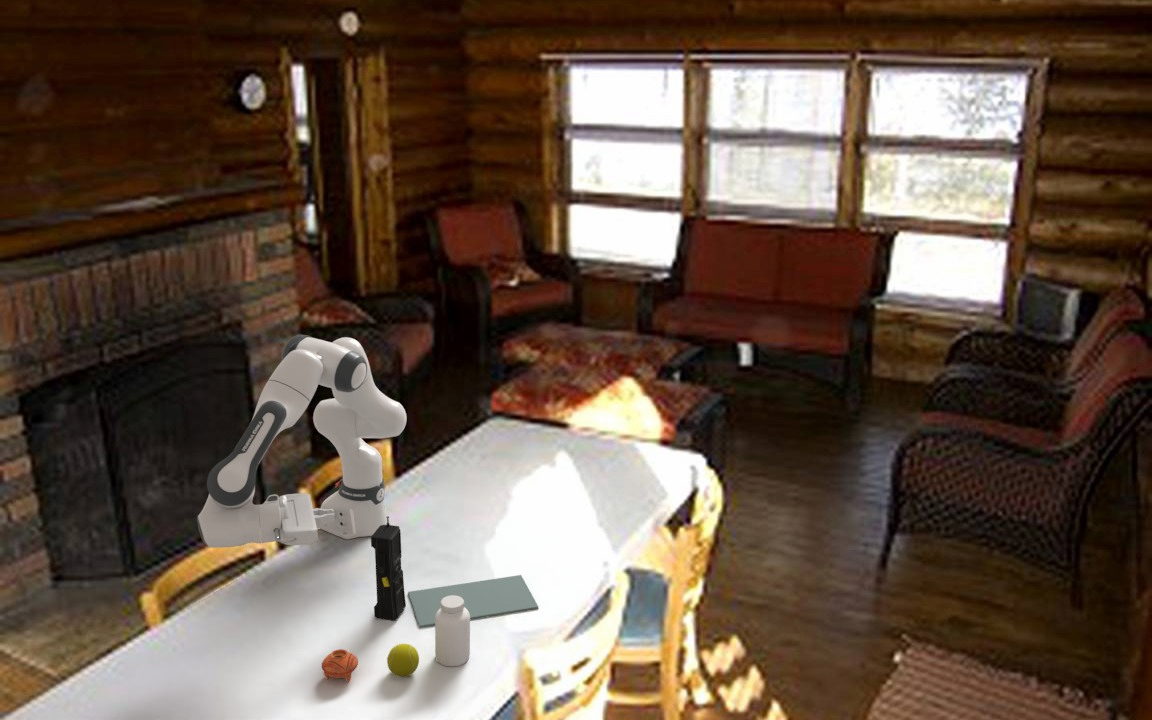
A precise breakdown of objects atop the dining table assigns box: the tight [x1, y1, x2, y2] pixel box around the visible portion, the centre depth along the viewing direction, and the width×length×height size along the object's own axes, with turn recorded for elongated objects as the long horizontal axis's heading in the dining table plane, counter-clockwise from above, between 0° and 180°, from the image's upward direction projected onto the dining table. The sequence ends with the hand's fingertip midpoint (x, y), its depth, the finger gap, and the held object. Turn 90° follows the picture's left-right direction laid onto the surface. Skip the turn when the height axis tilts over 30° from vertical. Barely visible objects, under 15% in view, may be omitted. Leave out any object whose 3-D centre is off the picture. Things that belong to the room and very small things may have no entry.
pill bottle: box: [434, 595, 471, 667], centre depth 234 cm, size 8×8×15 cm
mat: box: [407, 574, 539, 629], centre depth 259 cm, size 30×16×1 cm, turn 109°
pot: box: [321, 648, 359, 683], centre depth 227 cm, size 8×8×7 cm
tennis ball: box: [386, 643, 420, 678], centre depth 229 cm, size 7×7×7 cm
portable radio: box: [370, 515, 407, 622], centre depth 249 cm, size 8×6×25 cm
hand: (334, 514), depth 239 cm, fingers closed
